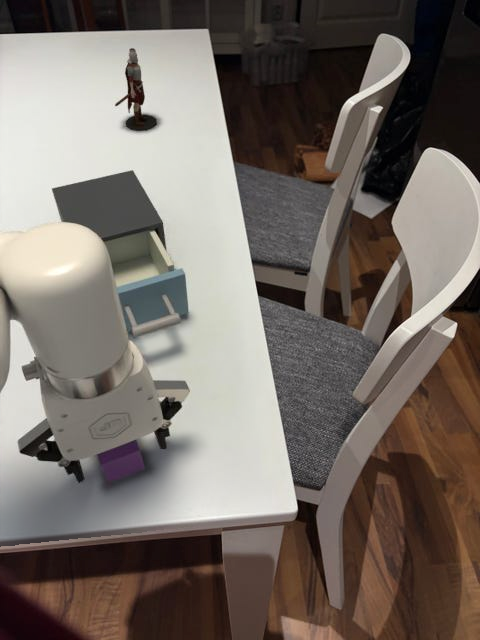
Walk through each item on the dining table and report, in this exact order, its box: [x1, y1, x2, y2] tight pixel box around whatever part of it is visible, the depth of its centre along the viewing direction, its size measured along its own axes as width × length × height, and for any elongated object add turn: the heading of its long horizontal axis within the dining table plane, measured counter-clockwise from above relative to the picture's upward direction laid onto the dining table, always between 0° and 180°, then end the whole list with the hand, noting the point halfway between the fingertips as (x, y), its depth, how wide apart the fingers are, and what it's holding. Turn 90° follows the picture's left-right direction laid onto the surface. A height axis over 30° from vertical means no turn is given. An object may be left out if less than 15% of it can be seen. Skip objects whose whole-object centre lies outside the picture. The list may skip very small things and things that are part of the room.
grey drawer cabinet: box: [51, 169, 168, 253], centre depth 80 cm, size 15×13×9 cm
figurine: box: [114, 47, 158, 132], centre depth 106 cm, size 7×7×15 cm
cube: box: [96, 439, 146, 484], centre depth 57 cm, size 4×4×4 cm
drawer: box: [104, 229, 190, 339], centre depth 71 cm, size 19×11×7 cm, turn 24°
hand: (120, 454), depth 58 cm, fingers open, 8 cm apart
